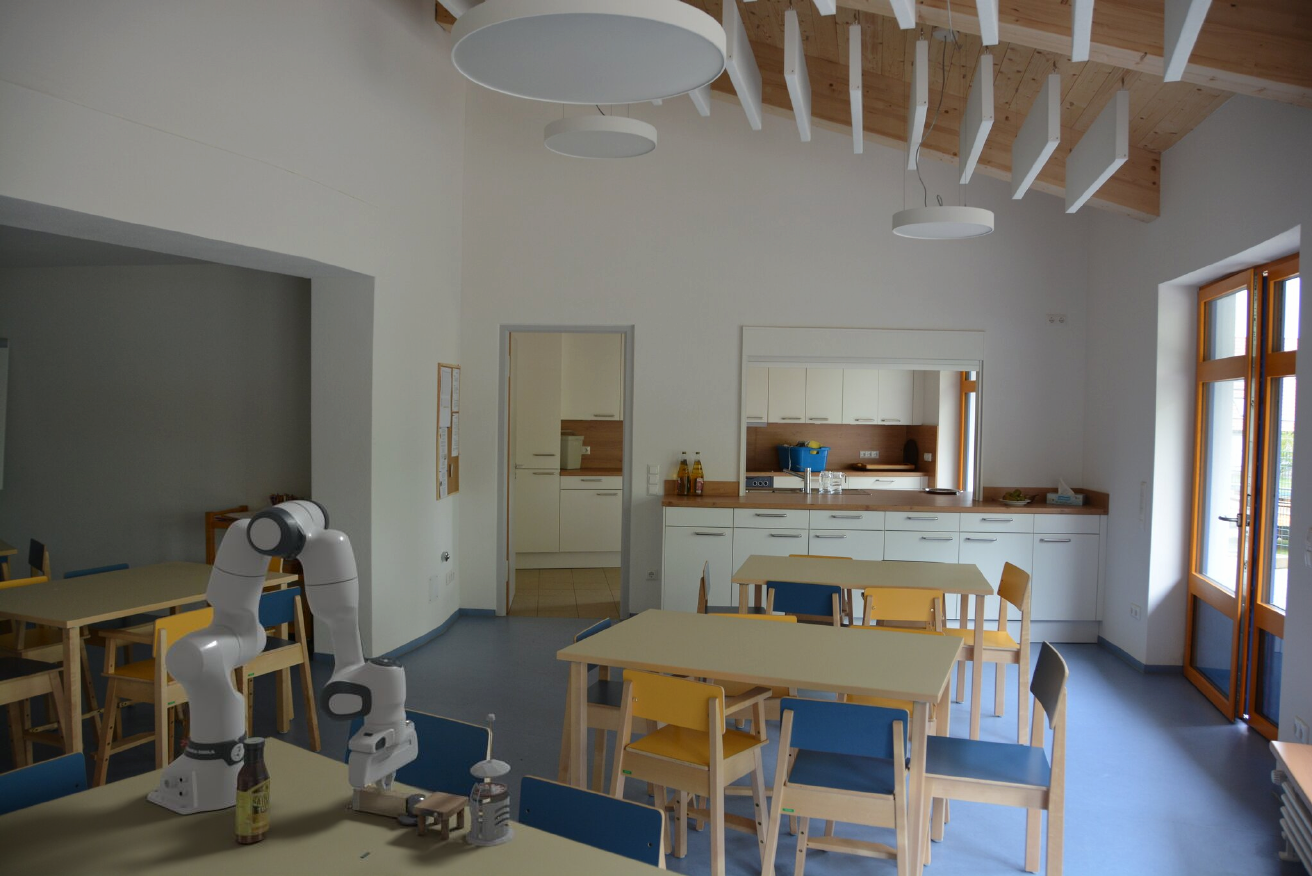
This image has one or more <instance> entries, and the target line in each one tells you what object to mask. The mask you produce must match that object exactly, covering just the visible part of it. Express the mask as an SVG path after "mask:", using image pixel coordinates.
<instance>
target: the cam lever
mask: <svg viewBox="0 0 1312 876" xmlns="http://www.w3.org/2000/svg"><path fill="white" fill-rule="evenodd" d="M352 790H353V793H352V795H353V796H352V797H353V798H352V802H353V807H352V809H353V810H356V811H361V812H367V813H373V814H376V815H381V816H386V817H393V818H397V822H398V823H399V824H401V825H403V826H404V825H405V826H418V814H414V806H415V805H416V804H418V803H419V802H421V801H423V800H424V799H426V798H427V797H426V795H425V794H423V793H413V794H412V793H407V792H403V791H402V792H401V791H396V790H393V789H392V790H386V789H381V788H377V787H374V786H371V785H369V786H367V787H366V788H364V789H360V788H355V787H352ZM429 819H430V817H429V816H426V822H427V821H428V820H429Z"/></svg>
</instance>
